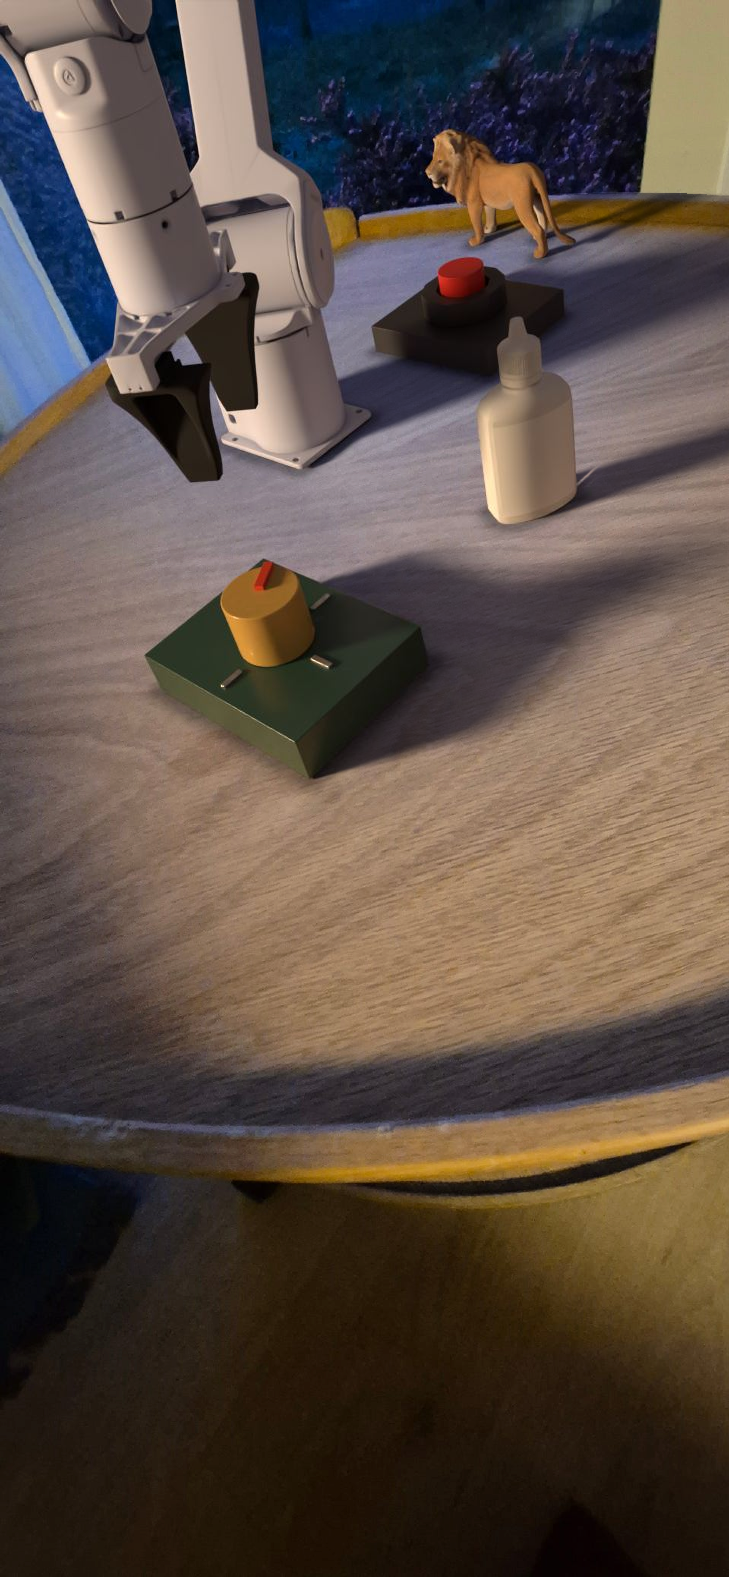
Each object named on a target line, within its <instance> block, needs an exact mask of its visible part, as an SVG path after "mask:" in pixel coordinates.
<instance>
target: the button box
mask: <svg viewBox="0 0 729 1577" xmlns="http://www.w3.org/2000/svg"><path fill="white" fill-rule="evenodd" d="M484 273H485V283H486V286H485V288H483V289H482V290H481V291H479V292H477V293H474V294H471V295H468V296H466V297H458V298H448V297H442V296H441V293H440V286H439V279H438V275H437V276H435V277H434V278H432V279H431V280H430V281H428V282H427V283H425V284H424V286H423V288H422V289H420V290H419V291H418V292H416V293H415V294H414V295H412V296H411V297H409V298H408V299H407V300H405V301H404V302H403V303H401V304H400V305H398V306H397V307H396V308H394V309H393V310H391V311H390V312H389V313H388V314H386V315H384V316H383V317H382V318H380V319H379V320H378V321H377V322H375V323H374V324H372V325H371V333H372V337H373V343H374V347H375V351H376V353H379V354H380V353H381V354H384V355H389V356H394V357H398V358H402V359H406V360H410V361H411V360H412V361H416V362H421V363H425V364H428V365H429V364H430V365H434V366H437V367H441V368H442V367H443V368H446V369H451V370H456V371H460V372H464V373H469V374H473V375H478V376H482V377H486V378H487V377H488V378H490V377H492V376H493V375H494V374H496V373H497V372H498V371H499V363H498V354H497V347H498V345H499V344H500V343H501V342H502V341H503V340H504V339H506V338H508V335H509V326H510V320H511V319H512V318H514V317H522V318H523V322H524V325H525V329H526V332H527V334H531V335H534V336H536V337H537V338H538V339H539V338H540V337H541V336H543V335H544V334H545V333H546V332H547V331H548V330H550V329H551V328H552V327H553V326H554V325H556V324H557V323H558V322H559V321H561V320H562V319H563V318H564V317H565V316H566V312H565V311H566V310H565V291H564V288H562V287H561V288H560V287H554V286H547V285H541V284H534V283H529V282H528V283H527V282H522V281H514V280H509V279H506V275H505V274H504V273H503V272H502V271H500V270H499V269H498V268H497V267H494V266H486V265H484Z"/></svg>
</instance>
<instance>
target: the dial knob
mask: <svg viewBox="0 0 729 1577" xmlns="http://www.w3.org/2000/svg"><path fill="white" fill-rule="evenodd" d="M274 563H275V562H274V561H271V562H264V563H263V566H262V567H259V568H255V569H252V570H250V569H249V570H250V571H248V570H247V571H245V572H243V573H241V574H239V575H238V576H237V577H235V578H233V579H232V580H231V581H230V582H229V583H228V584H227V585H226V587H225V588H224V589H223V590H222V591H223V593H222V596H221V608H222V610H223V612H224V615H225V617H226V620H227V622H228V624H229V627H230V629H231V631H232V634H233V636H234V639H235V641H236V643H237V646H238V648H239V651H240V653H241V655H242V657H243V658H244V659H245V660H246V661H247V662H249V663H251V664H253V665H256V666H261V667H272V666H278V665H282V664H285V663H288V662H290V661H292V660H294V659H296V658H298V657H299V656H301V655H302V654H303V653H304V652H305V651H306V650H307V649H308V648H309V647H310V645H311V644H312V642H313V640H314V636H315V628H314V625H313V622H312V619H311V616H310V613H309V610H308V607H307V604H306V601H305V598H304V595H303V592H302V588H301V585H300V582H299V579H298V577H297V576H296V575H295V573H294V572H295V571H294V572H292V571H293V570H292V569H290V568H287V567H285V566H283V567H280V566H281V565H280V566H275V565H274ZM284 567H285V568H284ZM289 569H290V570H289ZM291 570H292V571H291Z"/></svg>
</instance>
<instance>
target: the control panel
mask: <svg viewBox="0 0 729 1577" xmlns="http://www.w3.org/2000/svg"><path fill="white" fill-rule="evenodd" d="M264 562H272V561H271V560H268V559H266V558H262V559H261V560H259V561H258V562H257V563H256V564H254V565H253V566H252V567H251V568H249V569H248V570H247V571H250V570H252V569H255V568H259V567H262V566H263V563H264ZM274 565H275V566H280V567H284V568H286V567H285V566H282V565H280V564H278V563H275V562H274ZM288 569H289V570H291V571H292V572H294V573H295V575H296V576H297V577H298V579H299V582H300V585H301V588H302V592H303V595H304V598H305V601H306V604H307V607H308V610H309V613H310V616H311V619H312V622H313V625H314V628H315V636H314V640H313V642H312V644H311V645H310V647H309V648H308V649H307V650H306V651H305V652H304V653H303V654H302V655H301V656H299V657H298V658H296V659H294V660H292V661H290V662H288V663H285V664H282V665H278V666H272V667H261V666H256V665H253V664H251V663H249V662H247V661H246V660H245V659H244V658H243V657H242V655H241V653H240V651H239V648H238V646H237V643H236V641H235V639H234V636H233V634H232V631H231V629H230V627H229V624H228V622H227V620H226V617H225V615H224V612H223V610H222V608H221V596H222V593H223V591H224V590H222V591H221V592H220V593H219V594H218V595H216V596H214V597H213V598H212V599H211V600H210V601H209V602H208V603H206V604H205V605H204V606H203V607H202V608H200V609H199V610H198V611H196V612H195V613H194V614H193V615H191V616H190V617H189V618H188V619H186V621H184V622H183V623H182V624H180V625H179V626H178V627H177V628H175V629H174V630H173V631H172V632H170V633H169V634H167V636H166V637H164V638H163V639H162V640H161V641H159V642H158V643H157V644H156V645H155V646H153V647H152V648H151V649H150V650H148V651H147V652H146V653H145V654H144V655H143V657H144V658H145V660H146V663H147V664H148V666H149V668H150V670H151V672H152V673H153V676H154V677H155V679H156V682H157V683H158V685H159V687H160V689H161V691H162V692H164V693H165V694H166V695H168V696H170V697H172V698H173V699H175V700H177V701H178V702H180V703H182V704H183V705H185V706H187V707H188V708H190V709H192V710H194V711H195V712H197V713H198V714H200V715H201V716H203V717H205V718H207V719H208V720H210V721H212V722H213V723H215V724H216V725H218V726H220V727H222V728H223V729H225V730H227V731H228V732H230V733H231V734H233V735H235V736H237V738H240V739H241V740H243V741H244V742H247V743H248V744H250V745H252V746H253V747H255V748H257V749H258V750H260V751H262V752H263V753H265V754H266V755H269V756H270V757H272V758H273V759H275V760H276V761H278V762H279V763H282V764H283V765H285V766H286V767H288V768H290V769H291V770H293V771H295V772H296V773H298V774H300V775H302V776H303V777H305V778H307V779H308V780H312V779H313V778H314V777H315V776H316V775H317V774H318V773H319V772H320V771H321V770H322V769H323V768H324V767H325V766H326V765H327V764H328V763H329V762H330V761H331V760H333V758H335V756H337V755H338V754H339V753H340V752H341V751H342V750H343V749H344V748H345V747H346V746H347V745H348V744H349V743H351V741H352V740H353V739H354V738H356V736H357V735H358V734H360V733H361V732H362V731H363V730H364V729H365V728H366V727H367V726H368V725H369V724H370V723H371V722H372V721H374V719H376V717H377V716H379V714H380V713H381V712H383V711H384V710H385V709H386V707H388V706H389V705H390V704H391V703H392V702H393V701H394V700H395V699H396V698H397V697H398V696H399V695H400V694H401V693H402V692H403V691H404V690H406V688H407V687H409V686H410V685H411V684H412V683H413V682H414V681H415V680H416V679H417V678H418V677H419V676H420V675H421V674H422V673H423V672H424V671H425V670H427V668H428V667H429V666H430V661H429V657H428V653H427V652H428V651H427V647H426V644H425V638H424V634H423V633H424V632H423V629H422V626H421V625H420V624H417V623H416V622H413V621H410V620H409V619H406V618H404V617H401V616H399V615H397V614H394V613H393V612H390V611H387V610H386V609H383V608H380V607H379V606H376V605H373V604H371V603H369V602H366V601H364V600H362V599H359V598H357V597H355V596H353V595H351V594H347V593H345V592H343V591H341V590H339V589H336V588H335V587H331V586H329V585H326V584H324V583H322V582H319V581H317V580H315V579H313V578H310V577H309V576H306V575H305V574H301V573H298V572H296V571H294V570H292V569H290V568H288Z"/></svg>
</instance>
